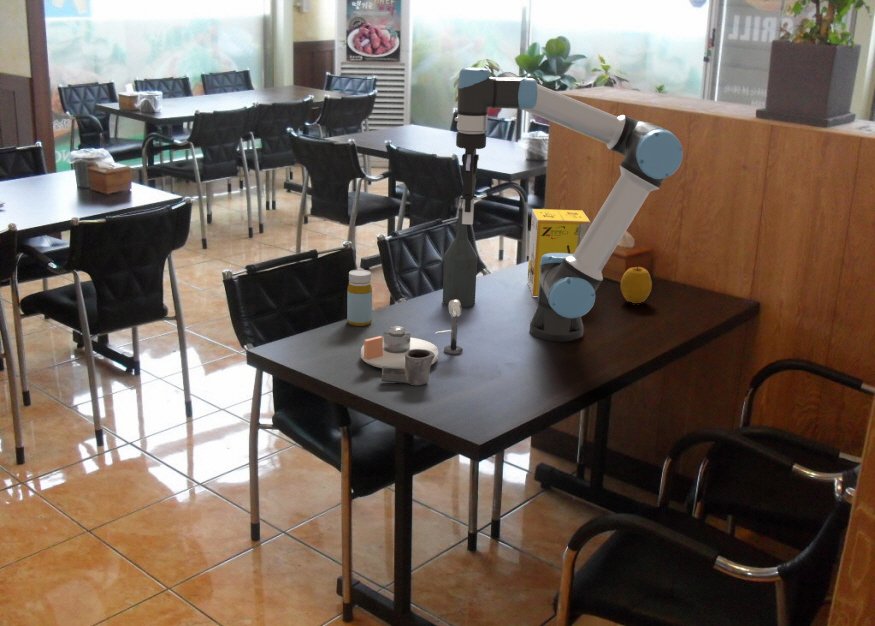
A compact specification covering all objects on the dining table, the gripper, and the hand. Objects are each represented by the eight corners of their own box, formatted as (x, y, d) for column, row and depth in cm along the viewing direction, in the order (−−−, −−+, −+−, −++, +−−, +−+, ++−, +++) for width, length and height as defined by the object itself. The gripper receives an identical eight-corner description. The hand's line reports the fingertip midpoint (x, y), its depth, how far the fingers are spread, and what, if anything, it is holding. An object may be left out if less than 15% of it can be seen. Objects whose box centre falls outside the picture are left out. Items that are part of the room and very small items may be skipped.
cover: (399, 342, 257) (399, 322, 255) (415, 349, 251) (416, 329, 250) (377, 347, 252) (378, 327, 251) (393, 355, 247) (394, 335, 245)
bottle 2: (481, 306, 296) (486, 210, 286) (454, 310, 291) (458, 213, 281) (463, 297, 304) (467, 203, 295) (436, 301, 299) (439, 205, 290)
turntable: (405, 336, 265) (406, 314, 263) (454, 358, 250) (455, 335, 248) (342, 353, 252) (342, 329, 250) (389, 377, 237) (390, 352, 235)
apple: (627, 295, 311) (630, 260, 307) (655, 302, 306) (659, 266, 302) (613, 303, 304) (617, 267, 300) (642, 309, 298) (646, 273, 295)
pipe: (381, 378, 240) (381, 348, 237) (432, 378, 241) (433, 348, 238) (381, 388, 234) (382, 357, 231) (434, 388, 235) (435, 357, 232)
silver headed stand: (457, 347, 262) (459, 296, 257) (466, 353, 258) (468, 301, 253) (430, 351, 258) (432, 299, 254) (439, 357, 254) (441, 305, 250)
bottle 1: (368, 328, 274) (368, 277, 269) (344, 325, 275) (344, 274, 271) (374, 320, 281) (375, 270, 276) (351, 317, 282) (351, 268, 277)
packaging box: (583, 299, 307) (590, 221, 299) (532, 297, 306) (537, 220, 298) (576, 284, 322) (582, 210, 314) (527, 282, 322) (532, 208, 314)
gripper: (459, 127, 249) (455, 217, 257) (453, 134, 237) (450, 228, 245) (488, 128, 248) (484, 218, 256) (484, 136, 236) (479, 230, 244)
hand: (467, 223), depth 250 cm, fingers closed
